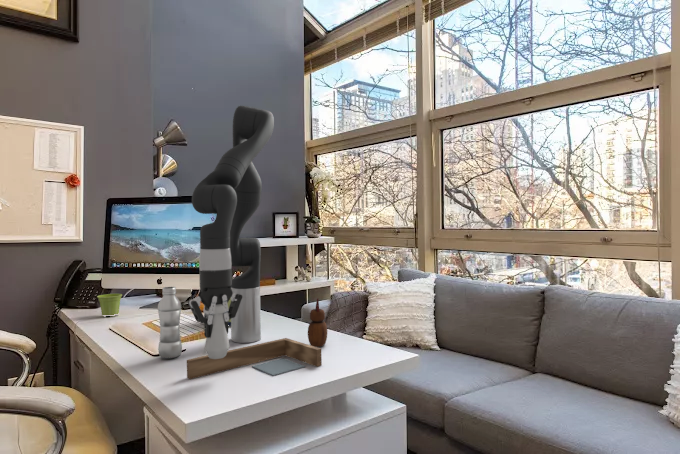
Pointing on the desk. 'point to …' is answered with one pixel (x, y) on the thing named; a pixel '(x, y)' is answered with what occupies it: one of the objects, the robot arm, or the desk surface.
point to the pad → (278, 366)
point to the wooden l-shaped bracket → (254, 357)
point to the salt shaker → (217, 335)
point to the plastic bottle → (169, 324)
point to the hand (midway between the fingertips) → (216, 337)
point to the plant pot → (109, 303)
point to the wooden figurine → (317, 327)
